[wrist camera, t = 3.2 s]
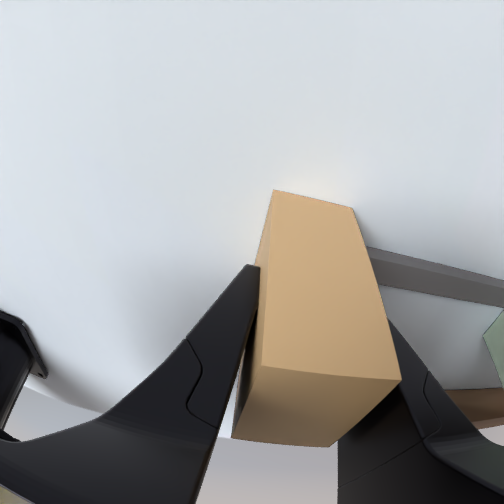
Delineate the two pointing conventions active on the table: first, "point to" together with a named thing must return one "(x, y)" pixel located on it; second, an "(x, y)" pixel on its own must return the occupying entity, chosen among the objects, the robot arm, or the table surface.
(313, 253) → the block dumbbell
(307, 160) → the table surface
